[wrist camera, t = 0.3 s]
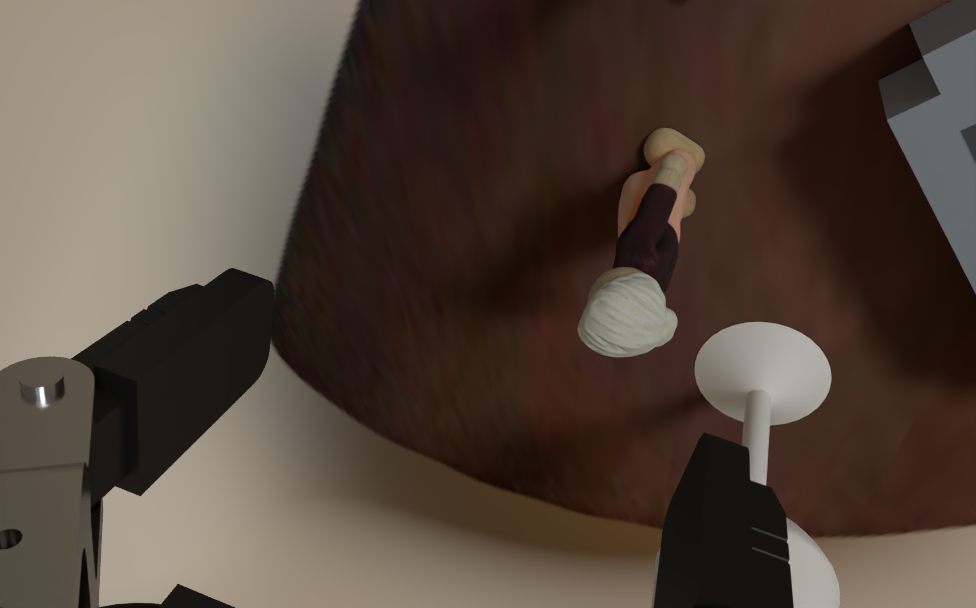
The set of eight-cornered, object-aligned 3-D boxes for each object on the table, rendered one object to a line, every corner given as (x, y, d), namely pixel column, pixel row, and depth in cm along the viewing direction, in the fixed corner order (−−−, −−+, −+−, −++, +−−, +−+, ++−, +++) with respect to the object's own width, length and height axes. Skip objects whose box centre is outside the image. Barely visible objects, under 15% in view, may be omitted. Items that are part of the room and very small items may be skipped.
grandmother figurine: (624, 105, 34) (548, 237, 24) (713, 105, 33) (671, 244, 23) (627, 255, 38) (563, 421, 28) (706, 261, 37) (669, 435, 27)
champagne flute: (667, 356, 41) (547, 845, 22) (781, 299, 37) (752, 837, 18) (742, 442, 42) (689, 969, 23) (859, 396, 38) (907, 987, 19)
